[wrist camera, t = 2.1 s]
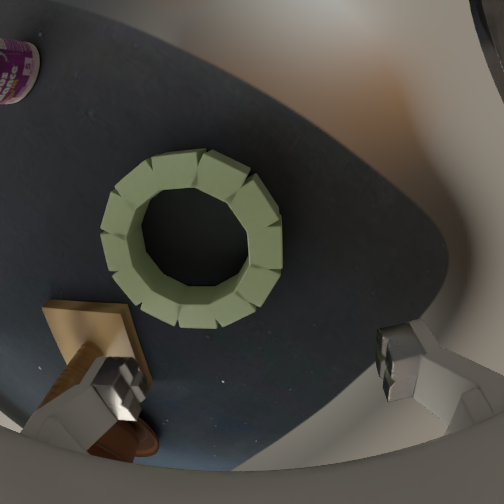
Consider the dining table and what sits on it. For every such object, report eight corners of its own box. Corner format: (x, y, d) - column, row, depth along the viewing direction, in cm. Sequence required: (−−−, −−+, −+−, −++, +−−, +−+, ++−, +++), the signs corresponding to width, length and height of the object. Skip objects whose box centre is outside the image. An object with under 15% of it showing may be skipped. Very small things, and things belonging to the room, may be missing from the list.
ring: (278, 143, 18) (279, 146, 16) (282, 308, 23) (283, 329, 20) (106, 161, 19) (87, 166, 17) (136, 306, 24) (124, 324, 21)
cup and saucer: (169, 453, 33) (158, 490, 27) (90, 432, 34) (75, 464, 28) (153, 400, 28) (136, 446, 23) (61, 376, 29) (37, 412, 23)
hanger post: (127, 303, 23) (49, 420, 12) (153, 381, 27) (110, 489, 16) (49, 298, 24) (-31, 384, 13) (80, 369, 28) (27, 456, 16)
